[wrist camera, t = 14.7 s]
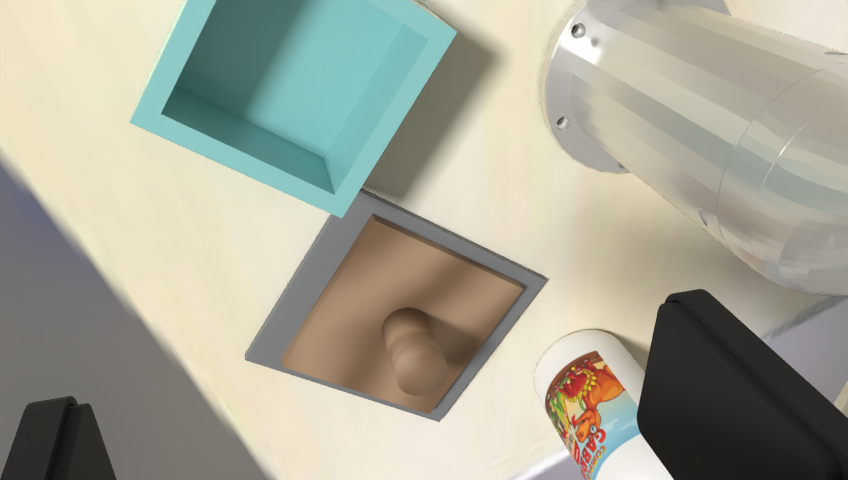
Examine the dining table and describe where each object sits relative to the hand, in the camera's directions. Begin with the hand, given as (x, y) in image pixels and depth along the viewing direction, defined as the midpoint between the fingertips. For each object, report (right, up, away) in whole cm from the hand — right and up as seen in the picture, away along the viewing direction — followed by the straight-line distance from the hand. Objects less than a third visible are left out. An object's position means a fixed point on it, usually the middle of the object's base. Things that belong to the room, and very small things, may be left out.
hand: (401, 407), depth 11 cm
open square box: (-7, +13, +25) cm, 29 cm away
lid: (-1, -3, +35) cm, 35 cm away
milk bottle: (+12, -7, +42) cm, 45 cm away
